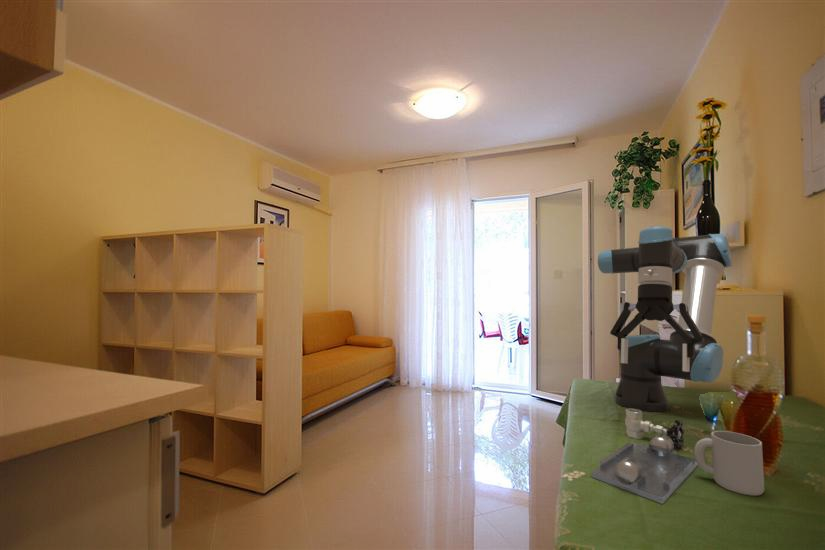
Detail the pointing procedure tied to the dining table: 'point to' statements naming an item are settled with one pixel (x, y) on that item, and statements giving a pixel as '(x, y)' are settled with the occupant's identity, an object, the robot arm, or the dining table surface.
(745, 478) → the cup
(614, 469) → the tray
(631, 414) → the valve
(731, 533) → the dining table surface
